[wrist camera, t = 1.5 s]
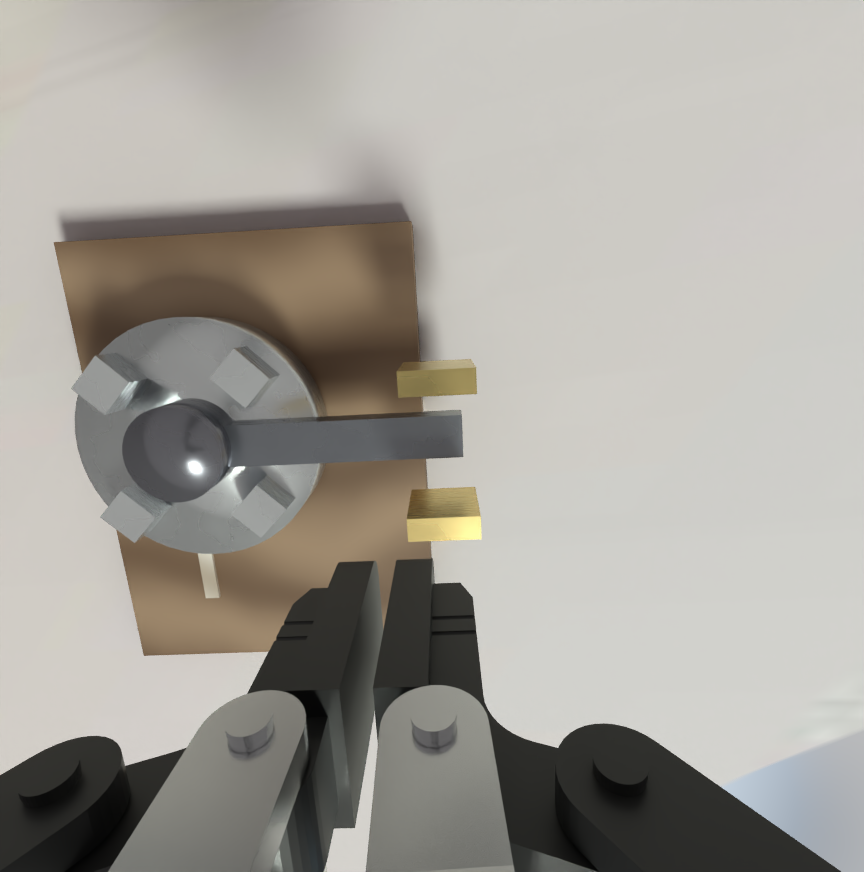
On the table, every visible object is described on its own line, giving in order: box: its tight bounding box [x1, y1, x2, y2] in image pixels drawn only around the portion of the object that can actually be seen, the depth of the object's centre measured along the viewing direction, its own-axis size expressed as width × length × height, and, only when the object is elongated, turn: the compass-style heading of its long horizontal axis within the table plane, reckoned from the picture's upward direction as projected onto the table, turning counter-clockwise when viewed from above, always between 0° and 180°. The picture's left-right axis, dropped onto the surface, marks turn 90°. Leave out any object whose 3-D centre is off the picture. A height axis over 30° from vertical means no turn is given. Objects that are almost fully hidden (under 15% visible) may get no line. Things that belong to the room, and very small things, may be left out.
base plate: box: [54, 221, 432, 656], centre depth 28 cm, size 24×18×2 cm
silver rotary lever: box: [71, 317, 481, 554], centre depth 23 cm, size 12×20×7 cm, turn 93°
